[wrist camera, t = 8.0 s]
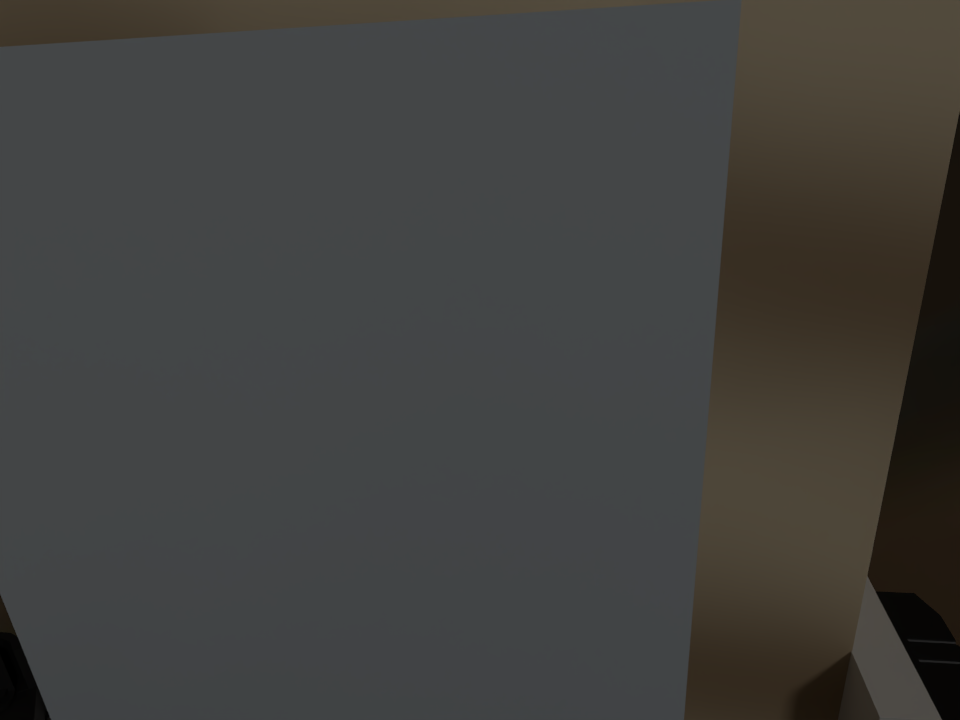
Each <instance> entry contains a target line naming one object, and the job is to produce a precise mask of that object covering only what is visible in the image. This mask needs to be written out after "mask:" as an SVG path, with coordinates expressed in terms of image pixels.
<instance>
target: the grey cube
mask: <svg viewBox="0 0 960 720" xmlns="http://www.w3.org/2000/svg"><path fill="white" fill-rule="evenodd" d="M741 1H742V0H715V1H700V2H684V3H669V4H653V5H638V6H623V7H607V8H592V9H576V10H561V11H545V12H530V13H515V14H499V15H484V16H468V17H453V18H438V19H422V20H407V21H391V22H376V23H361V24H345V25H330V26H314V27H299V28H284V29H268V30H253V31H237V32H222V33H207V34H191V35H176V36H160V37H145V38H130V39H114V40H99V41H83V42H68V43H53V44H37V45H22V46H6V47H0V594H1V597H2V599H3V602H4V604H5V607H6V609H7V612H8V614H9V617H10V619H11V622H12V624H13V627H14V629H15V631H16V634H17V636H18V639H19V641H20V644H21V646H22V649H23V651H24V654H25V656H26V659H27V661H28V664H29V666H30V669H31V671H32V674H33V676H34V679H35V681H36V684H37V686H38V689H39V691H40V694H41V696H42V698H43V701H44V703H45V706H46V708H47V711H48V713H49V716H50V718H51V720H684V712H685V700H686V687H687V675H688V662H689V650H690V637H691V625H692V612H693V600H694V588H695V575H696V563H697V550H698V538H699V525H700V513H701V500H702V488H703V475H704V463H705V450H706V438H707V425H708V413H709V400H710V388H711V375H712V363H713V350H714V338H715V325H716V313H717V301H718V288H719V276H720V263H721V251H722V238H723V226H724V213H725V201H726V188H727V176H728V163H729V151H730V138H731V126H732V113H733V101H734V88H735V76H736V63H737V51H738V38H739V26H740V14H741Z"/></svg>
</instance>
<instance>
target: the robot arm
mask: <svg viewBox="0 0 960 720" xmlns="http://www.w3.org/2000/svg"><path fill="white" fill-rule="evenodd" d="M0 720H51V718H50V716H49V713H48V711H47V708H46V706H45V703H44V701H43V698H42V696H41V694H40V691H39V689H38V686H37V684H36V681H35V679H34V676H33V674H32V671H31V669H30V666H29V664H28V661H27V659H26V656H25V654H24V651H23V649H22V646H21V644H20V641H19V639H18V637H16V636H15V635H13V634H11V633H3V632H0ZM838 720H960V647H959V645H956V643H955V639H954V637H953V636H952V634H951V632H950V631H949V629H948V627H947V626H946V624H945V622H944V621H943V619H942V618H941V616H940V615H939V614H938V613H937V612H936V611H934V610H933V609H932V608H931V607H930V606H928V605H927V604H926V603H925V602H924V601H923V600H921V599H920V598H919V597H918V596H917V595H916V594H914V593H896V592H875V590H874V588H873V586H872V584H871V582H870V580H869V579H868V577H867V579H866V584H865V589H864V594H863V599H862V604H861V609H860V614H859V619H858V624H857V629H856V634H855V640H854V645H853V650H852V651H851V656H850V661H849V666H848V671H847V676H846V681H845V686H844V691H843V696H842V701H841V706H840V712H839V717H838Z"/></svg>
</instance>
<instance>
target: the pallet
mask: <svg viewBox="0 0 960 720" xmlns="http://www.w3.org/2000/svg"><path fill="white" fill-rule="evenodd" d="M700 1H715V0H0V47H6V46H22V45H37V44H53V43H68V42H83V41H99V40H114V39H130V38H145V37H160V36H176V35H191V34H207V33H222V32H237V31H253V30H268V29H284V28H299V27H314V26H330V25H345V24H361V23H376V22H391V21H407V20H422V19H438V18H453V17H468V16H484V15H499V14H515V13H530V12H545V11H561V10H576V9H592V8H607V7H623V6H638V5H653V4H669V3H684V2H700ZM959 111H960V0H742V1H741V14H740V26H739V38H738V51H737V63H736V76H735V88H734V101H733V113H732V126H731V138H730V151H729V163H728V176H727V188H726V201H725V213H724V226H723V238H722V251H721V263H720V276H719V288H718V301H717V313H716V325H715V338H714V350H713V363H712V375H711V388H710V400H709V413H708V425H707V438H706V450H705V463H704V475H703V488H702V500H701V513H700V525H699V538H698V550H697V563H696V575H695V588H694V600H693V612H692V625H691V637H690V650H689V662H688V675H687V687H686V700H685V712H684V720H838V717H839V712H840V706H841V701H842V696H843V691H844V686H845V681H846V676H847V671H848V666H849V661H850V656H851V651H852V650H853V645H854V640H855V634H856V629H857V624H858V619H859V614H860V609H861V604H862V599H863V594H864V589H865V584H866V579H867V574H868V569H869V564H870V559H871V554H872V549H873V544H874V539H875V534H876V529H877V524H878V519H879V514H880V509H881V504H882V499H883V494H884V489H885V484H886V478H887V473H888V468H889V463H890V458H891V453H892V448H893V443H894V438H895V433H896V428H897V423H898V418H899V413H900V408H901V403H902V398H903V393H904V388H905V383H906V378H907V373H908V368H909V363H910V358H911V353H912V348H913V343H914V338H915V333H916V328H917V323H918V317H919V312H920V307H921V302H922V297H923V292H924V287H925V282H926V277H927V272H928V267H929V262H930V257H931V252H932V247H933V242H934V237H935V232H936V227H937V222H938V217H939V212H940V207H941V202H942V197H943V192H944V187H945V182H946V177H947V172H948V167H949V161H950V156H951V151H952V146H953V141H954V136H955V131H956V126H957V121H958V116H959Z"/></svg>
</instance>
